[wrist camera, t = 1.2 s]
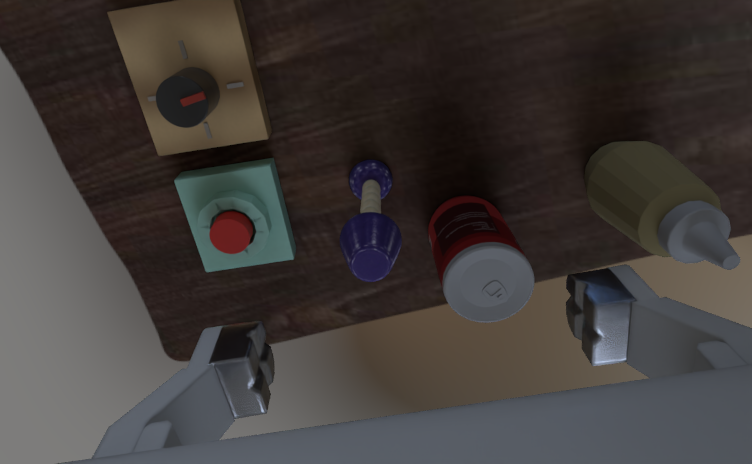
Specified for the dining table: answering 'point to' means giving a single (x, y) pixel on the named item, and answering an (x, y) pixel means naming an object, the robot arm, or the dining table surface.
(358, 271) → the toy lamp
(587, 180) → the squeeze bottle
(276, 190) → the switch block
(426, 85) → the dining table surface
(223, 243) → the power button
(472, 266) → the canned food
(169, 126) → the dimmer panel
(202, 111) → the dimmer knob
